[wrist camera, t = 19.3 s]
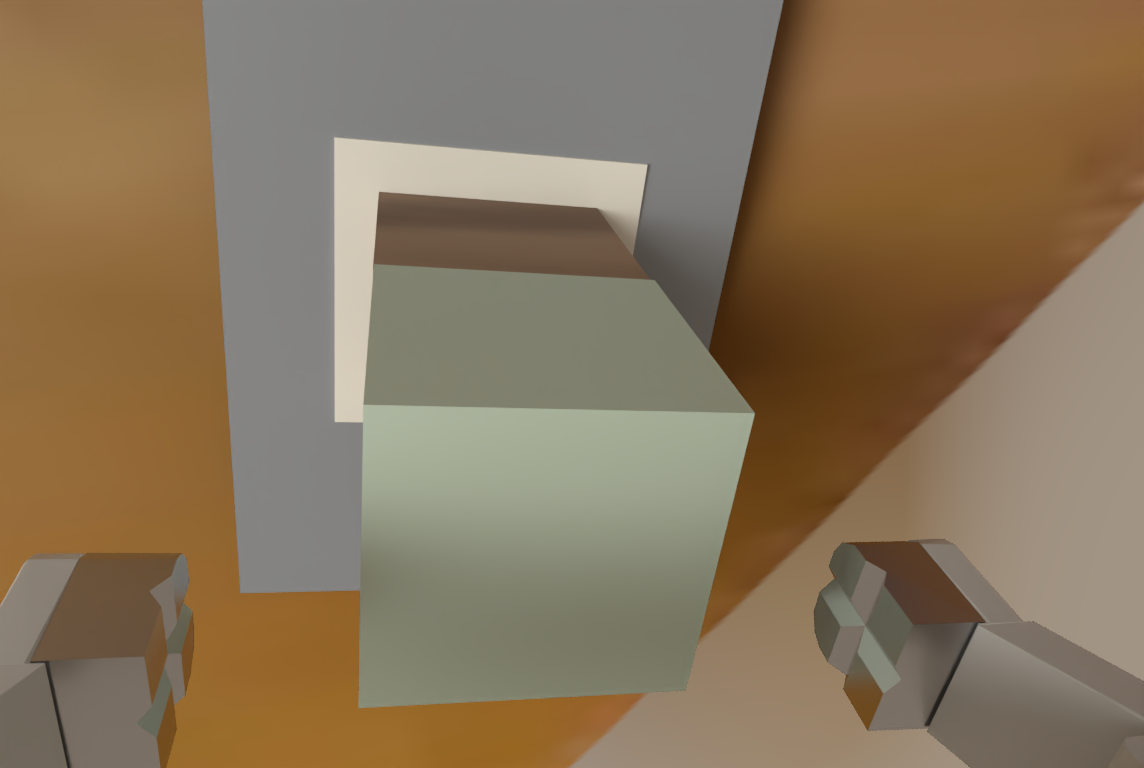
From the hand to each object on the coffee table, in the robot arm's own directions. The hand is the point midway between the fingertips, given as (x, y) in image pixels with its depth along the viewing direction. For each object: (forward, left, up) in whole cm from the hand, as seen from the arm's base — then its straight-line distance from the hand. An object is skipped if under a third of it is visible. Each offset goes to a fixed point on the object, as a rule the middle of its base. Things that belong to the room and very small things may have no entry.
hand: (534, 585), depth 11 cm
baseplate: (0, 0, -12) cm, 12 cm away
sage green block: (0, 0, -6) cm, 6 cm away
